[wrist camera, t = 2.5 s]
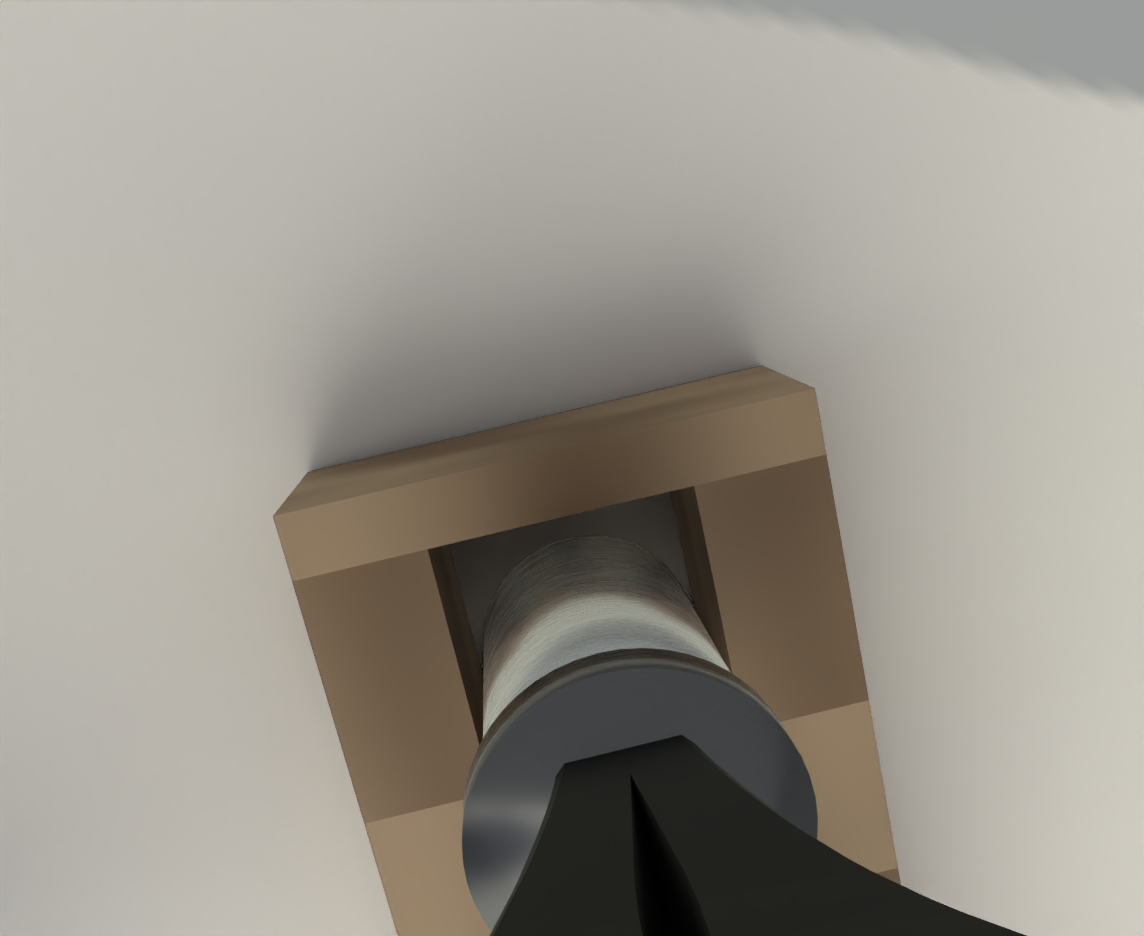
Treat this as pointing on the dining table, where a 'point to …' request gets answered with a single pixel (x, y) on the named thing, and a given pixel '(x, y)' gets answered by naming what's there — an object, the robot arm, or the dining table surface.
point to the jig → (549, 491)
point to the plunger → (602, 698)
